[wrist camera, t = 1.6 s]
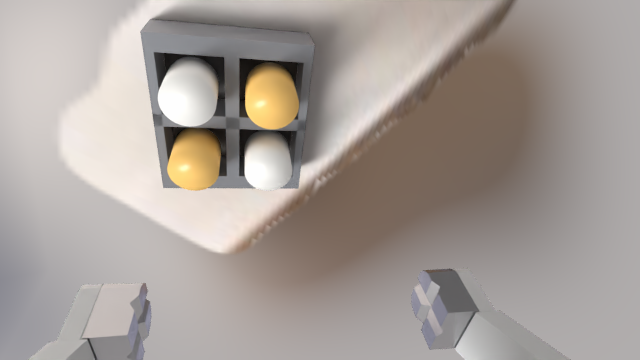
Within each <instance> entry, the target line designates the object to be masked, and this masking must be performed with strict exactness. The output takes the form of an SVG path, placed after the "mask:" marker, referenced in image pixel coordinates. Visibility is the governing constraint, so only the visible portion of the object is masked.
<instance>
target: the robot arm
mask: <svg viewBox="0 0 640 360" xmlns="http://www.w3.org/2000/svg"><path fill="white" fill-rule="evenodd" d="M418 280H419V282H420V283H419V284H418V285H417V286H415V287H414V289H413V292H412V295H411V296H412V297H411V299H412V300H411V302H412V308H413V311H414V314H415V316H416V318H417V319H419V320H420V321H421V322H422V323H423V326H422V329H421V331H422V333H423V335H424V338H425V340H426V342H427V345H428V347H429V349H430V350H431V349H447V348H455V350H456V351H457V352H458V353H459V354H460V355H461V356H462V357H463V358H464V359H465V360H570V359H569V358H567V357H566V356H564V355H563V354H562V353H560V352H558V351H557V350H556V349H554V348H553V347H551V346H550V345H549V344H547V343H546V342H544V341H543V340H542V339H540V338H539V337H537V336H536V335H534V334H533V333H532V332H530V331H529V330H527V329H526V328H524V327H523V326H522V325H520V324H519V323H517V322H516V321H514V320H513V319H512V318H510V317H509V316H507V315H506V314H504V313H503V312H502V311H500V310H497V311H496V310H495V308H494V307H493V305H492V304H491V302H490V301H489V299H488V298H487V296H486V294H485V293H484V291H483V290H482V288H481V286H480V285H479V283H478V282H477V280H476V279H475V277H474V276H473V274H472V272H471V271H470V270H469V269H467V268H462V269H438V270H423V271H422V272H420V274H419V276H418ZM146 296H147V287H146V284H145V283H124V284H91V285H90V284H89V285H83V286H82V287H81V288H80V289H79V291H78V293H77V295H76V297H75V300H74V302H73V304H72V306H71V309H70V311H69V314H68V315H67V318H66V320H65V322H64V324H63V327H62V329H61V331H60V333H59V336H58V338H57V340H56V341H53V342H49V343H48V344H46V345H45V346H44V347H43V348H41V349H40V350H39V351H38V352H37V353H35V354H34V355H33V356H32V357H31V358H29V359H28V360H143V356H144V352H145V351H144V347H143V341H144V340H145V339H146V338H147V337H148V335H149V329H150V324H151V305H150V301H148V300H147V299H146Z"/></svg>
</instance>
